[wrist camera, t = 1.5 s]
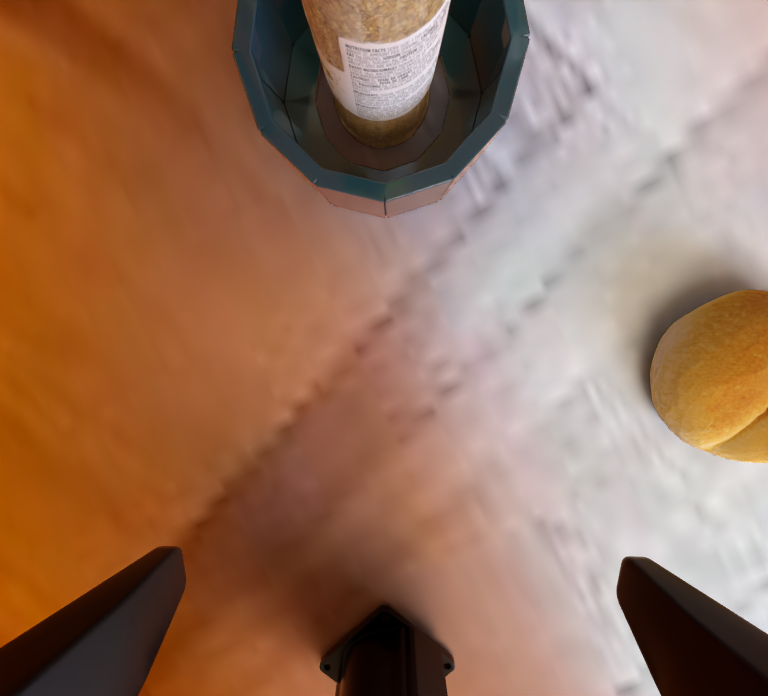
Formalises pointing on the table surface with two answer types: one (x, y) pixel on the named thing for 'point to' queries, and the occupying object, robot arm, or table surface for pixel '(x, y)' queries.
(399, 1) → the spice jar
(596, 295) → the table surface
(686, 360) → the bread roll
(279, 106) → the bowl
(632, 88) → the table surface
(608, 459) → the table surface
